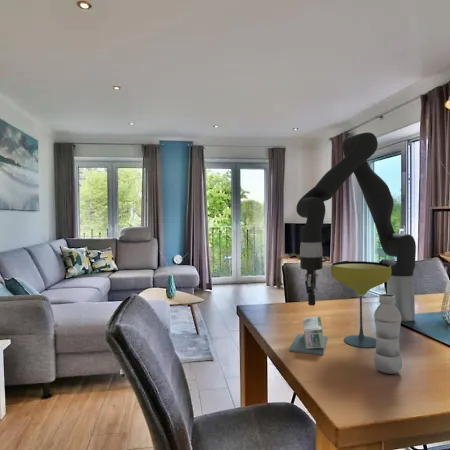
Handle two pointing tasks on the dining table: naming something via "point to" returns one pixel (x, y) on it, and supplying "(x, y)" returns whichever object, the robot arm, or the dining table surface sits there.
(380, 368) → the plastic bottle
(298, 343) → the mat
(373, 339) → the cocktail glass
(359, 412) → the dining table surface
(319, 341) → the syrup box
